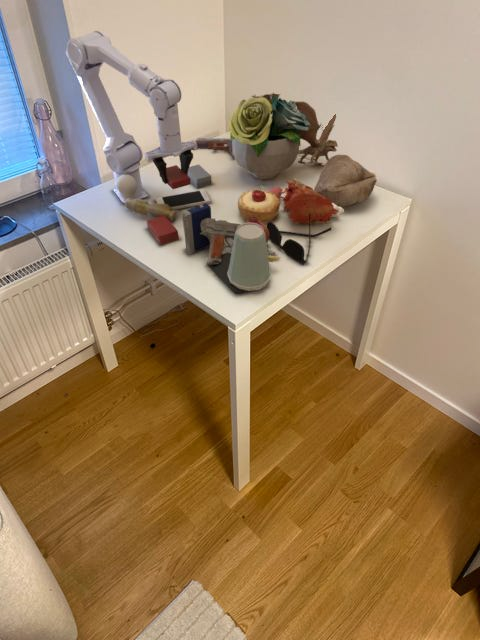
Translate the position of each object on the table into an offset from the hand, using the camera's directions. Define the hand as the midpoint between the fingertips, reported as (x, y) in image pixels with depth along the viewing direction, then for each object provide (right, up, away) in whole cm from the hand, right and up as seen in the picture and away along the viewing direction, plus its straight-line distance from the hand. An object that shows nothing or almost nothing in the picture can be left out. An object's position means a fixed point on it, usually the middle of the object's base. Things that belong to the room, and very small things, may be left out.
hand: (174, 179), depth 137 cm
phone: (+16, -28, -15) cm, 36 cm away
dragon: (+41, +12, +26) cm, 50 cm away
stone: (+13, -15, -1) cm, 20 cm away
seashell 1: (+30, -6, -2) cm, 31 cm away
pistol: (+17, -25, -9) cm, 32 cm away
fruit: (+22, -21, -7) cm, 31 cm away
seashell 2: (+49, -3, +11) cm, 50 cm away
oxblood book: (0, 0, 0) cm, 0 cm away
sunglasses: (+35, -19, -5) cm, 40 cm away
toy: (+27, -21, -8) cm, 35 cm away
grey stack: (+5, +6, +21) cm, 22 cm away
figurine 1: (-8, -9, +4) cm, 13 cm away
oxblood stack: (-3, -16, -2) cm, 16 cm away
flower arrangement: (+26, +8, +23) cm, 36 cm away
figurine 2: (+29, -7, +7) cm, 31 cm away
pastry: (+24, -9, +5) cm, 26 cm away
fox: (+22, -25, -16) cm, 37 cm away
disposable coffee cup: (+21, -19, -28) cm, 40 cm away
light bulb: (-14, -7, +8) cm, 17 cm away
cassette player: (+7, -20, -6) cm, 23 cm away
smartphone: (+1, -4, +11) cm, 12 cm away
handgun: (+12, +17, +30) cm, 36 cm away
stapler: (+43, -5, +3) cm, 43 cm away
